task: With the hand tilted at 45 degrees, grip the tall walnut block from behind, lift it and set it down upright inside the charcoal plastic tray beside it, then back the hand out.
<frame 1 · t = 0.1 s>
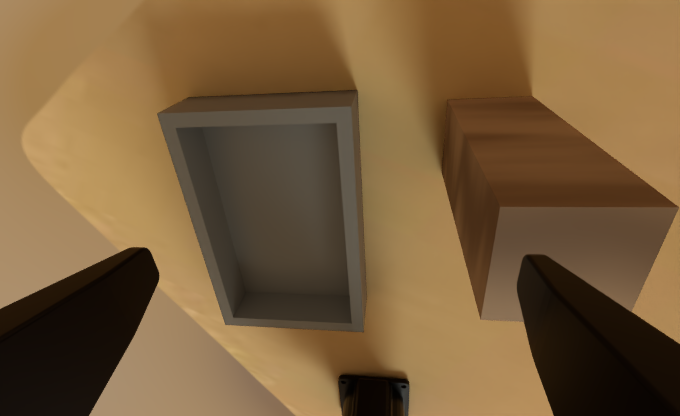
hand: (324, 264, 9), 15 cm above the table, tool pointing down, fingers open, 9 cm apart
walnut block: (484, 137, 21), on the table
tray: (289, 209, 26), on the table
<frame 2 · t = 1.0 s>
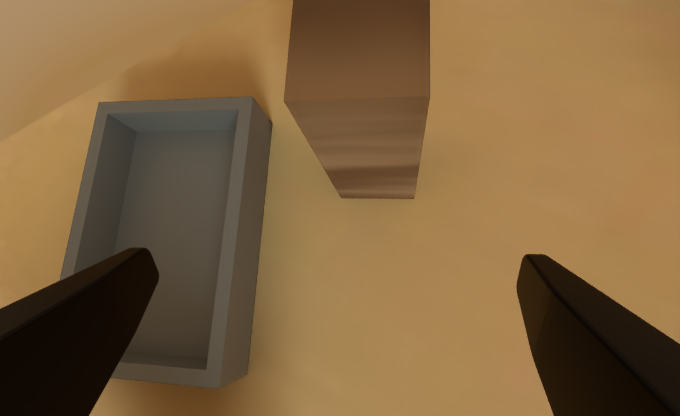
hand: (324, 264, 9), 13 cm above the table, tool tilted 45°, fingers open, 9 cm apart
walnut block: (378, 164, 23), on the table
tray: (185, 236, 24), on the table
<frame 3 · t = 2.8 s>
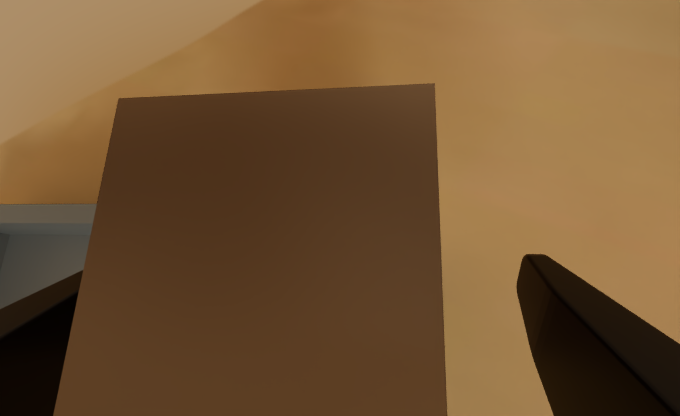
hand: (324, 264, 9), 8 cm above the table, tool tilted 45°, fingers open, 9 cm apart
walnut block: (351, 290, 16), on the table
tray: (71, 396, 16), on the table
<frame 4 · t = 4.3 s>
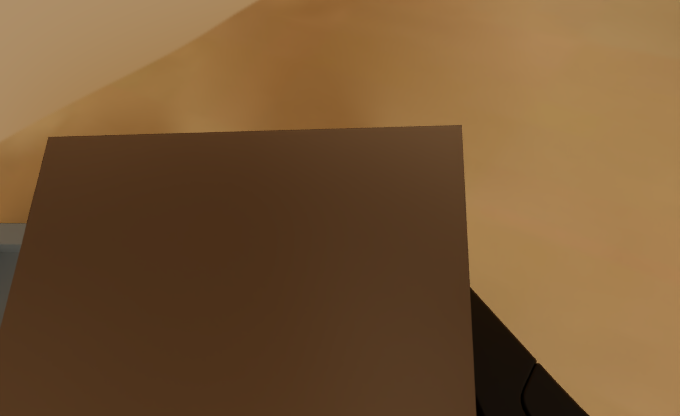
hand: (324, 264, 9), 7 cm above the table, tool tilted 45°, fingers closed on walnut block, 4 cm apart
walnut block: (351, 316, 15), on the table, touching gripper
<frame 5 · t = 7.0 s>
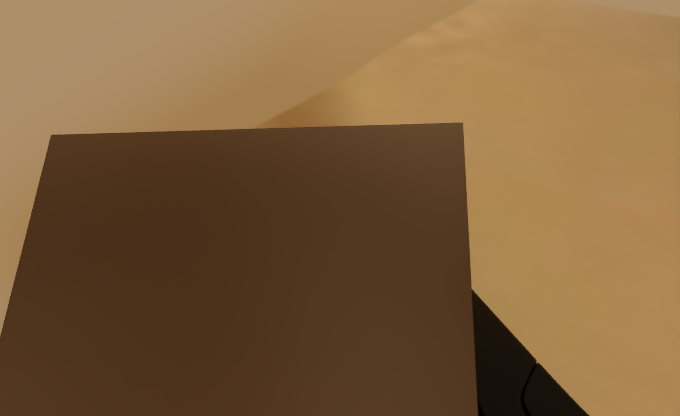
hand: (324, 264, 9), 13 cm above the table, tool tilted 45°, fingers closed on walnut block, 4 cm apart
walnut block: (351, 315, 15), point 7 cm above the table, touching gripper
when the fingers open (8 cm above the table, at t = 9.6 s): walnut block stays where it is, resting on tray.
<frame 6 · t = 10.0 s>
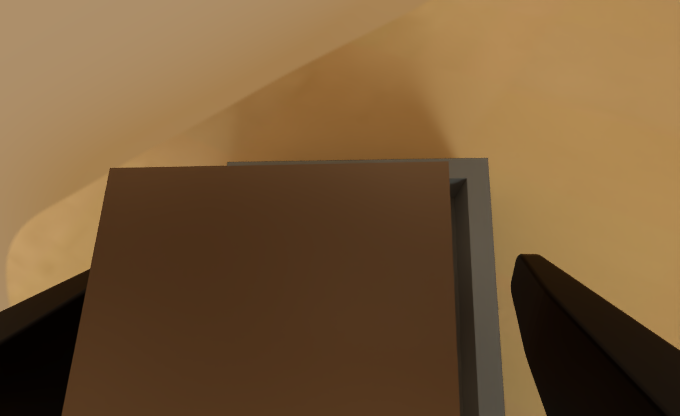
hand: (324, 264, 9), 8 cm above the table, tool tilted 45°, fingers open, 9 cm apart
walnut block: (354, 314, 16), point 1 cm above the table, touching tray
tray: (354, 361, 16), on the table
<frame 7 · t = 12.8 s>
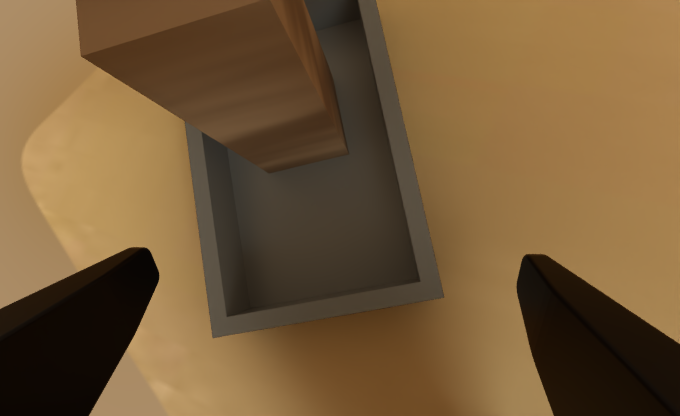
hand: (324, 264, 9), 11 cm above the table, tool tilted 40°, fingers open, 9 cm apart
walnut block: (301, 125, 20), point 1 cm above the table, touching tray
tray: (310, 163, 20), on the table
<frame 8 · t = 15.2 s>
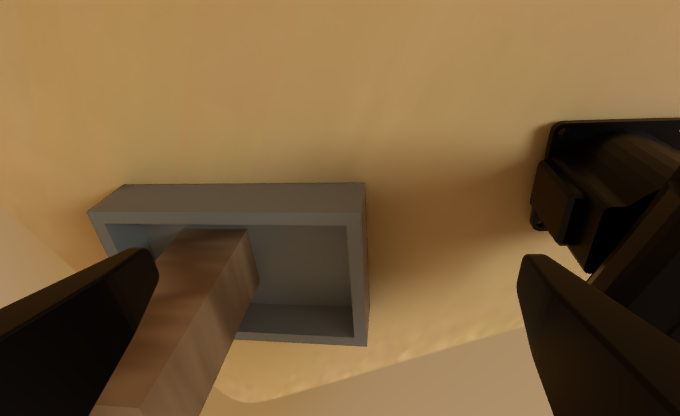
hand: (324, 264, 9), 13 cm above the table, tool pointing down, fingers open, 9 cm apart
walnut block: (222, 255, 25), point 1 cm above the table, touching tray
tray: (254, 249, 26), on the table
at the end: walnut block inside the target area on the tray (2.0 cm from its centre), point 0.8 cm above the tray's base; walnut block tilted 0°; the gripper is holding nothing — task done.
